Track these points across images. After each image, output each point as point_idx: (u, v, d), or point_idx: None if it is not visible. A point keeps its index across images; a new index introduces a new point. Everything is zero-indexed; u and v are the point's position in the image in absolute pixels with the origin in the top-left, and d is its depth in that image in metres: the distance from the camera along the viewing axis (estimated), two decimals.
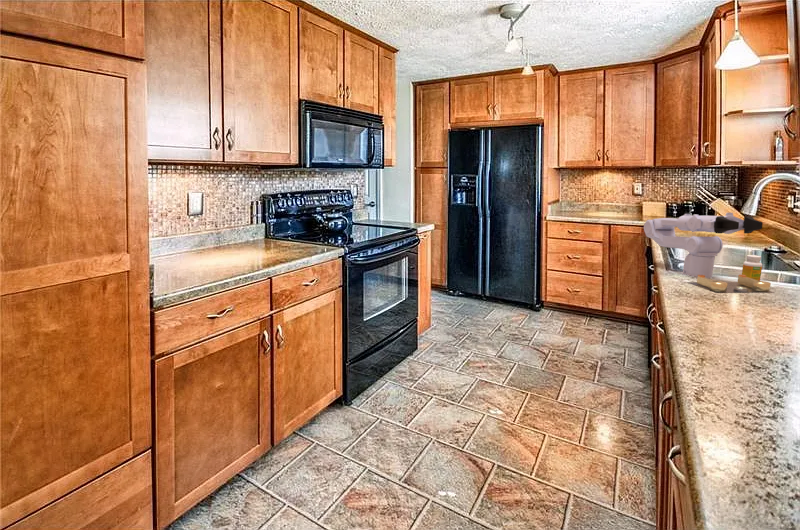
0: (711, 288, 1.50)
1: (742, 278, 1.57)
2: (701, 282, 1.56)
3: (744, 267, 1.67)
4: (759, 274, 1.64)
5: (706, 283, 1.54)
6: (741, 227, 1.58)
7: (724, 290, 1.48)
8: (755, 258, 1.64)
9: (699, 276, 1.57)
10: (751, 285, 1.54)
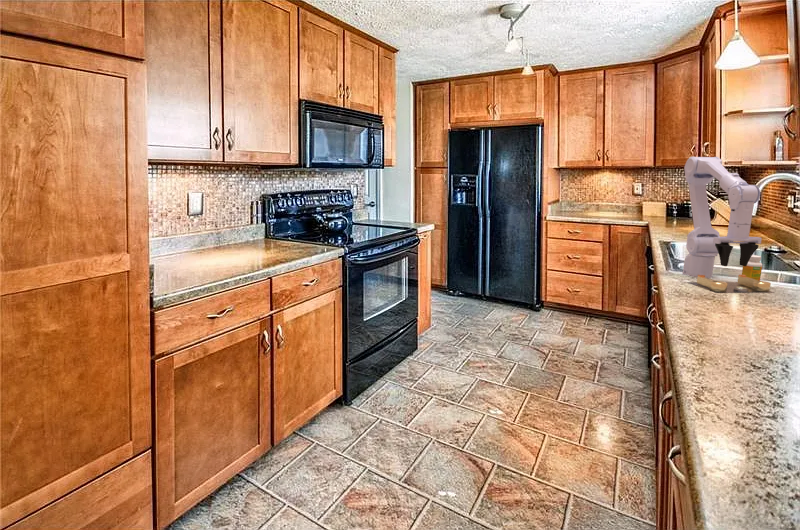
0: (711, 288, 1.50)
1: (742, 278, 1.57)
2: (701, 282, 1.56)
3: (743, 267, 1.67)
4: (759, 274, 1.64)
5: (706, 283, 1.54)
6: None
7: (724, 290, 1.48)
8: (755, 258, 1.64)
9: (699, 276, 1.57)
10: (751, 285, 1.54)
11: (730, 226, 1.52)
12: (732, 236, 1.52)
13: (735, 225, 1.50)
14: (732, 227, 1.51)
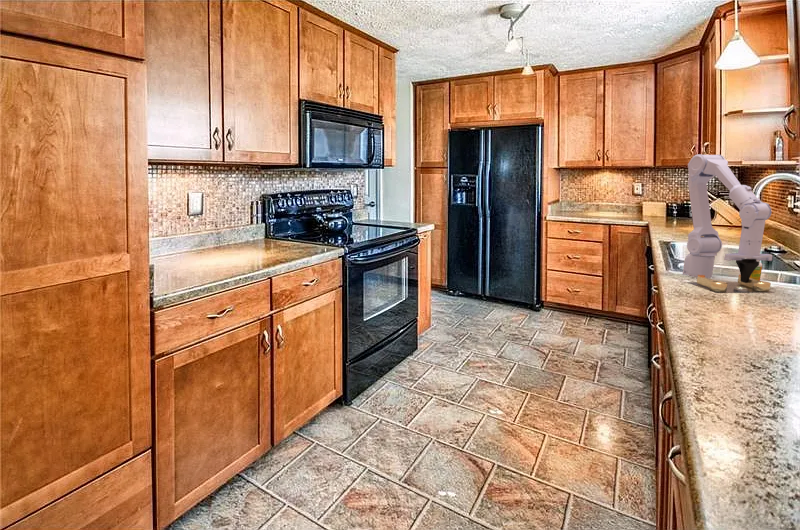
0: (711, 288, 1.50)
1: None
2: (701, 282, 1.56)
3: None
4: (759, 274, 1.64)
5: (706, 283, 1.54)
6: None
7: (724, 290, 1.48)
8: None
9: (699, 276, 1.57)
10: (751, 285, 1.54)
11: (741, 243, 1.53)
12: (743, 253, 1.53)
13: (746, 242, 1.52)
14: (743, 244, 1.53)
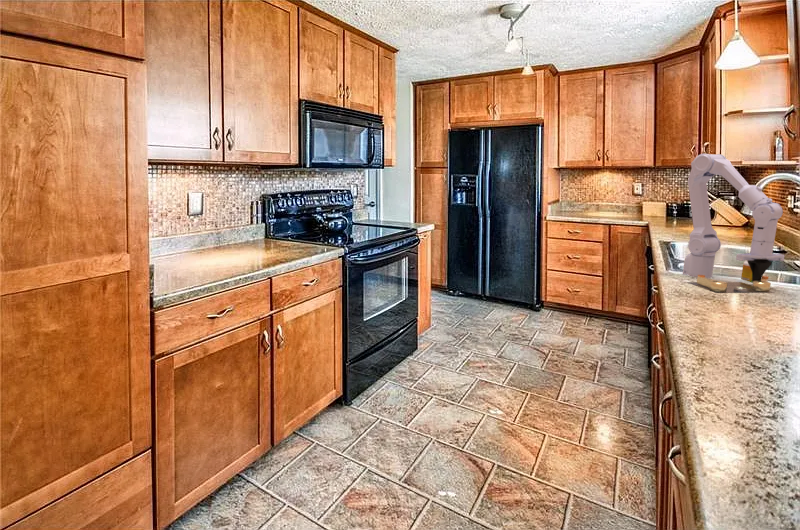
0: (711, 288, 1.50)
1: None
2: (701, 282, 1.56)
3: (743, 267, 1.67)
4: None
5: (706, 283, 1.54)
6: None
7: (724, 290, 1.48)
8: None
9: (699, 276, 1.57)
10: None
11: (753, 243, 1.54)
12: (755, 253, 1.53)
13: (758, 242, 1.52)
14: (755, 244, 1.53)
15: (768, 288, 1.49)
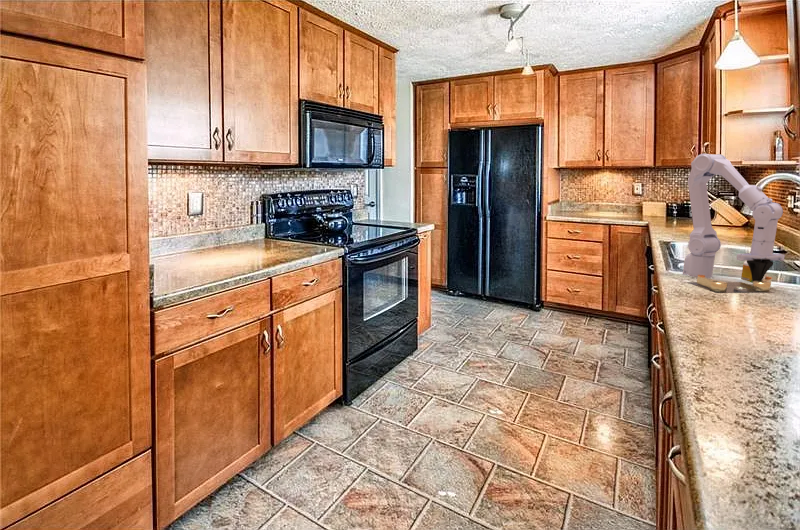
0: (711, 288, 1.50)
1: None
2: (701, 282, 1.56)
3: (743, 267, 1.67)
4: None
5: (706, 283, 1.54)
6: None
7: (724, 290, 1.48)
8: None
9: (699, 276, 1.57)
10: None
11: (754, 243, 1.54)
12: (756, 253, 1.53)
13: (759, 242, 1.52)
14: (756, 244, 1.53)
15: (767, 288, 1.49)
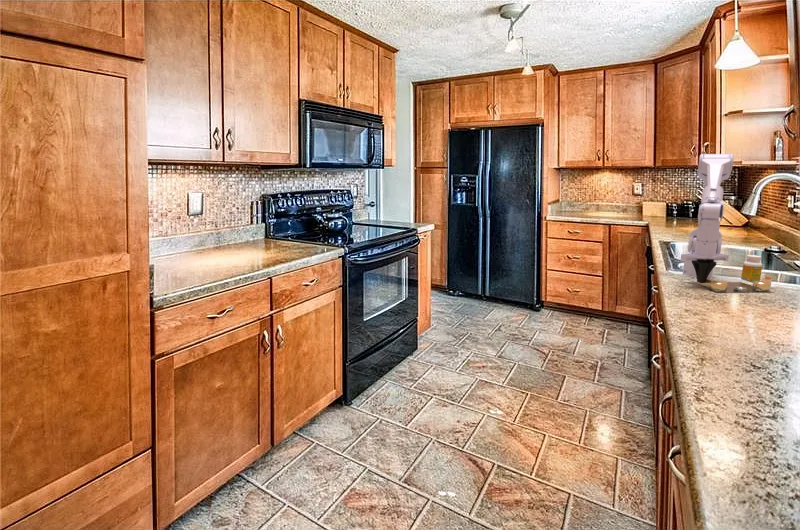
0: (711, 288, 1.50)
1: None
2: None
3: (744, 267, 1.67)
4: (759, 274, 1.64)
5: (706, 283, 1.54)
6: None
7: (724, 290, 1.48)
8: (755, 258, 1.64)
9: None
10: None
11: (697, 243, 1.53)
12: (699, 253, 1.52)
13: (702, 242, 1.51)
14: (699, 244, 1.52)
15: (767, 288, 1.49)
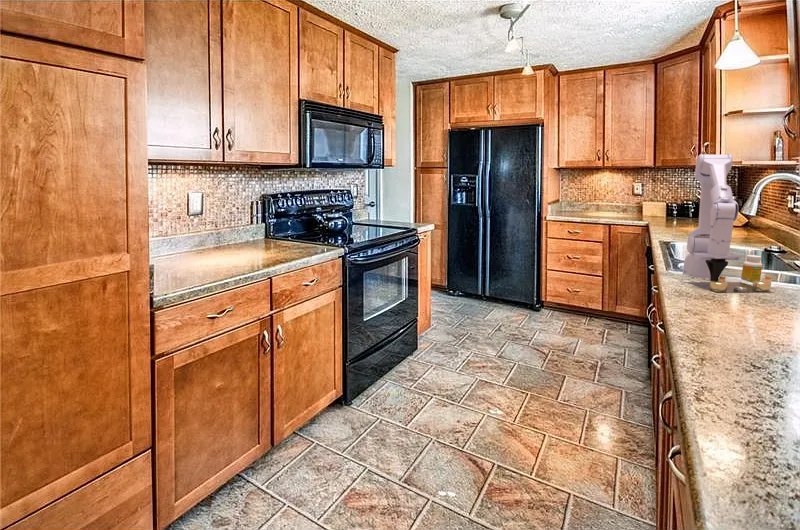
0: (710, 287, 1.51)
1: None
2: None
3: (743, 267, 1.67)
4: (759, 274, 1.64)
5: None
6: None
7: (719, 290, 1.48)
8: (755, 258, 1.64)
9: (719, 277, 1.56)
10: None
11: (710, 243, 1.53)
12: (712, 253, 1.52)
13: (715, 242, 1.51)
14: (712, 244, 1.52)
15: (767, 288, 1.49)
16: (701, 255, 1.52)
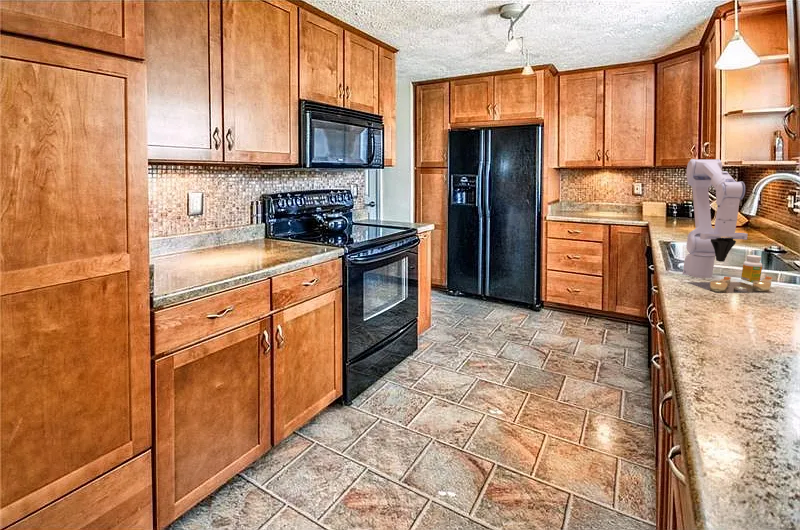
0: None
1: None
2: None
3: (743, 267, 1.67)
4: (759, 274, 1.64)
5: None
6: None
7: (717, 290, 1.48)
8: (755, 258, 1.64)
9: None
10: None
11: (717, 222, 1.54)
12: (718, 232, 1.54)
13: (721, 221, 1.53)
14: (718, 223, 1.53)
15: (767, 288, 1.49)
16: (707, 234, 1.54)
